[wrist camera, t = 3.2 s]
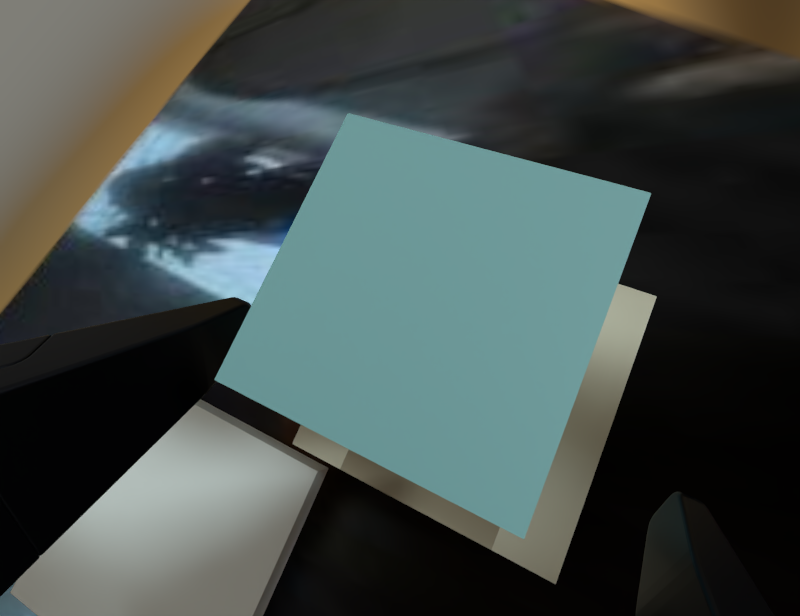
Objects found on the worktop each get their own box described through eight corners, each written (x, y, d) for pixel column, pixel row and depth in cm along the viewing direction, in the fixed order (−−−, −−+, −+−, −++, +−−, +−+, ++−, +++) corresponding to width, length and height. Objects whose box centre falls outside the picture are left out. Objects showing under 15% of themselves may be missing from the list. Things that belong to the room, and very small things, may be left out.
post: (501, 451, 17) (524, 539, 4) (407, 408, 18) (214, 379, 5) (538, 355, 17) (651, 193, 5) (445, 319, 18) (348, 113, 6)
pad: (215, 723, 16) (194, 746, 15) (38, 582, 19) (10, 592, 18) (328, 468, 18) (317, 471, 17) (149, 371, 21) (129, 368, 19)
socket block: (542, 549, 16) (555, 584, 12) (328, 439, 18) (292, 443, 15) (624, 320, 17) (656, 296, 14) (415, 248, 19) (399, 212, 16)
